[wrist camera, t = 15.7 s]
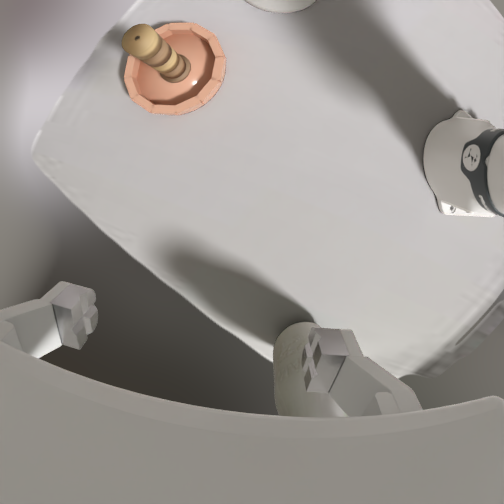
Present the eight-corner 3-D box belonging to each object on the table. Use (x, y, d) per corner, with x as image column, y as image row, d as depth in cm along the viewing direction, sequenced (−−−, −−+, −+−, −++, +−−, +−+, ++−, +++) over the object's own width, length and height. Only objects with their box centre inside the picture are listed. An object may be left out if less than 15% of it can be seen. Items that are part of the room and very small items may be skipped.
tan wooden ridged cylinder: (193, 55, 33) (163, 18, 19) (188, 83, 34) (153, 56, 21) (164, 55, 32) (122, 21, 19) (158, 82, 34) (113, 59, 21)
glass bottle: (296, 362, 53) (314, 494, 27) (260, 333, 50) (261, 478, 24) (338, 334, 50) (381, 466, 24) (304, 300, 47) (340, 447, 21)
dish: (233, 32, 32) (231, 24, 29) (217, 119, 37) (213, 117, 34) (143, 31, 32) (136, 25, 29) (127, 113, 37) (117, 112, 34)
